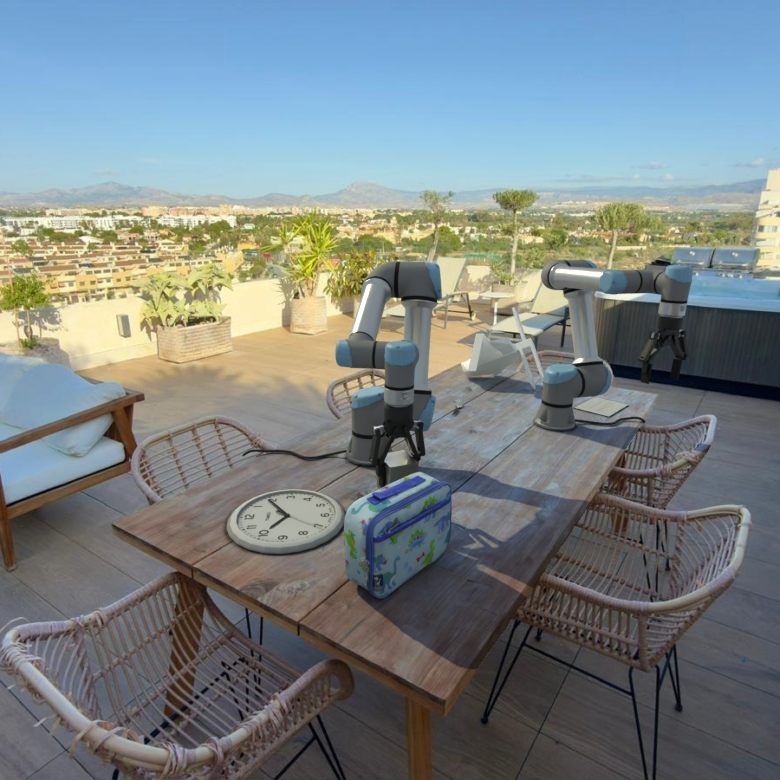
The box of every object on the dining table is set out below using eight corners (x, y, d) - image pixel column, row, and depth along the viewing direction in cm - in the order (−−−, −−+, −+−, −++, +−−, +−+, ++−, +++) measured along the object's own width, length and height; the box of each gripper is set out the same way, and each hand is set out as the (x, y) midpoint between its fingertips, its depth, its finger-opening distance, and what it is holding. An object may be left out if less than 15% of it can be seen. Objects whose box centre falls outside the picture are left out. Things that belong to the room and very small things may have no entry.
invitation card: (608, 416, 214) (573, 407, 224) (608, 416, 214) (573, 408, 224) (628, 404, 229) (594, 396, 238) (628, 405, 229) (594, 397, 238)
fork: (449, 415, 212) (449, 411, 211) (458, 403, 226) (458, 399, 226) (455, 416, 211) (455, 411, 211) (464, 404, 225) (464, 400, 225)
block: (376, 486, 142) (377, 454, 139) (403, 481, 145) (404, 449, 142) (389, 500, 135) (390, 467, 132) (417, 494, 138) (418, 462, 135)
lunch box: (372, 611, 103) (373, 518, 97) (338, 585, 111) (336, 497, 104) (455, 557, 121) (460, 475, 115) (420, 537, 128) (424, 459, 122)
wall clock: (345, 545, 122) (213, 550, 119) (345, 551, 122) (214, 556, 120) (344, 484, 150) (238, 487, 148) (345, 490, 151) (239, 492, 148)
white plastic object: (482, 418, 266) (461, 395, 241) (463, 346, 288) (443, 318, 264) (553, 394, 254) (538, 368, 229) (528, 321, 276) (512, 289, 251)
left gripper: (366, 412, 125) (365, 497, 132) (442, 402, 133) (438, 482, 140) (355, 403, 132) (355, 484, 138) (428, 394, 140) (425, 471, 147)
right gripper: (652, 320, 156) (641, 387, 163) (709, 315, 166) (696, 379, 172) (632, 316, 163) (622, 381, 169) (687, 312, 173) (676, 374, 179)
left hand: (397, 483), depth 139 cm, fingers closed on block, 8 cm apart
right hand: (659, 380), depth 171 cm, fingers open, 13 cm apart
